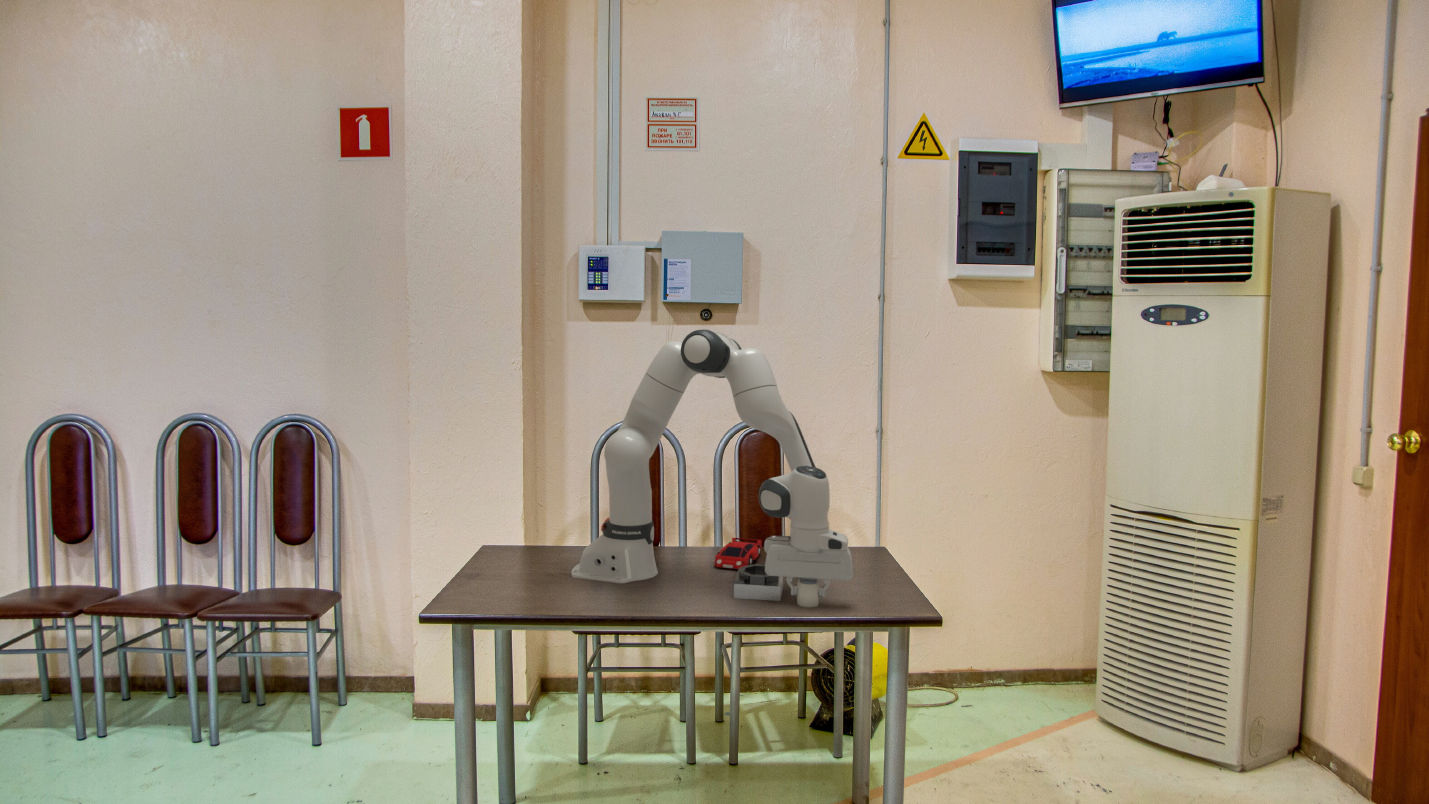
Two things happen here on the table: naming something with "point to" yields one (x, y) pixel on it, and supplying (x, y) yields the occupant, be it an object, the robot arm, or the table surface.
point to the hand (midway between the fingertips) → (807, 595)
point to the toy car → (738, 553)
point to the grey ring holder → (757, 584)
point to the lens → (808, 592)
